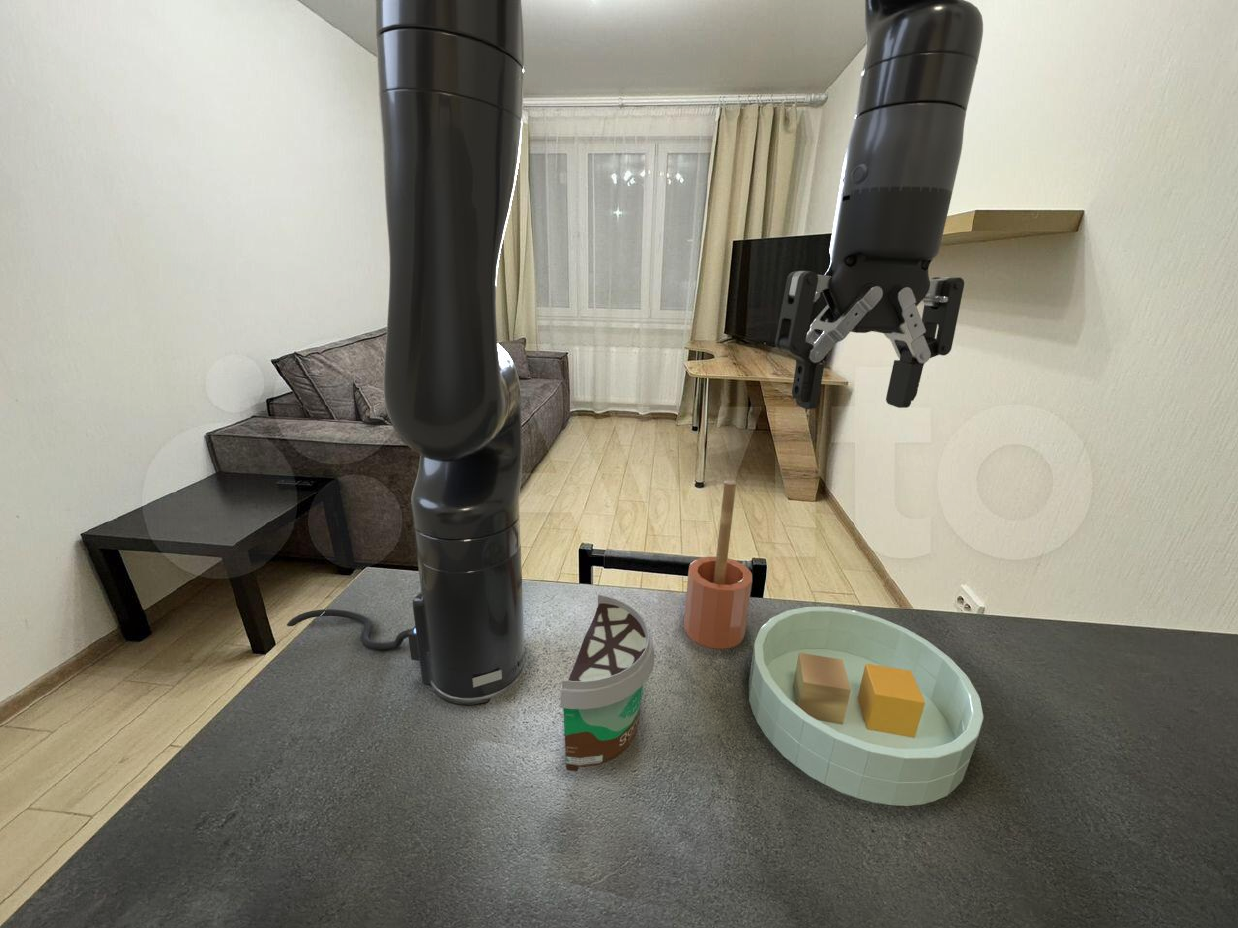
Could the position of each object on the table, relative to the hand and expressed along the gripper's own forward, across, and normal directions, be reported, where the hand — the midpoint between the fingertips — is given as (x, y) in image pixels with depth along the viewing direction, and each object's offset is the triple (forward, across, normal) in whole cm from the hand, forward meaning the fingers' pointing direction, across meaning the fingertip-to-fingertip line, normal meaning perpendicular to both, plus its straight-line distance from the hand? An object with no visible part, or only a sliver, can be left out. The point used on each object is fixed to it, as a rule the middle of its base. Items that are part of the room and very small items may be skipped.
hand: (851, 406), depth 44 cm
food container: (+29, +20, +4) cm, 35 cm away
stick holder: (+28, +6, -8) cm, 30 cm away
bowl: (+28, -2, +5) cm, 29 cm away
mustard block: (+28, -5, +6) cm, 29 cm away
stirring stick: (+28, +6, -8) cm, 30 cm away
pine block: (+28, 0, +4) cm, 28 cm away
